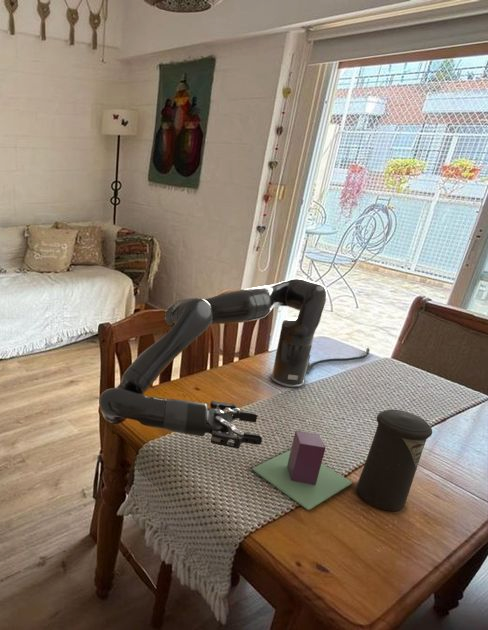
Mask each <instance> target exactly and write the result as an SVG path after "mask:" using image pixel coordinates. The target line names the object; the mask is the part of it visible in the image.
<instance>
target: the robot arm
mask: <svg viewBox="0 0 488 630" xmlns="http://www.w3.org/2000/svg"><path fill="white" fill-rule="evenodd" d="M327 296H328V292H327V288H326V286H325V285H323V284H320V283H318V282H315V281H311V280H308V279H304V278H298V277H295V278H291V279H288V280H285V281H281V282H277V283H274V284H270V285H263V286H257V287H249V288H244V289H238V290H234V291H230V292H229V291H228V292H225V293H222V294H219V295H215V296H212V297H207V298H199V297H192V298H191V297H190V298H184V299H178V300H176V301H174V302H173V303H171V304H170V305H169V306H168V307H167V309H166V311H165V314H164V321H165V323H166V325H167V326H168V327H169V329H170V330H168V332H166V333H165V334H164V335H163V336H162V337H161V338H159V339H158V340H157V341H155V342H154V343H153V344H151V345H150V346H149V347H147V348H146V349H145V350H143V351H142V352H141V353H140V354H139V355H138V356H137V357H136V358H135V359H134V361H133V362H132V363H131V364H130V365H129V366H128V367H127V368H126V370H125V371H124V373H123V374H122V375H121V379H120V383H119V384H118V385H117V387H111V388H107V389H105V390H104V391H103V392H101V394H100V396H99V400H98V404H99V408H100V412H101V415H102V417H103V419H104V420H105V421H106V422H108V423H109V424H112V425H118V424H122V423H124V422H126V420H133V421H137V422H139V424H141V425H142V426H144V427H150V428H154V429H155V428H156V429H161V430H162V429H163V430H166V431H169V432H172V433H178V434H185V435H191V436H197V437H204V436H205V434H210V443H211V444H212V445H218V446H223V447H226V448H232V449H241V448H240V447H241V445H242V444H249V445H256V446H257V445H258V446H261V444H262V441H263V436H262V434H260V433H254V432H247V431H241V430H239V429H237V428H236V426H235V425H234V424H232V422H234V421H237V420H239V421H242V422H247V423H253V424H255V423H257V419H258V414H257V413H256V412H253V411H246V410H241V409H240V408H238V407H237V404H235V403H229V402H221V401H210V403H209V408H208V404H207V403H205V402H197V401H190V400H185V399H184V400H183V399H177V398H170V399H169V398H162V397H156V396H148V395H144V394H145V393H146V392H147V391H149V388H150V387H151V386H152V385H153V384H154V383H155V382H156V380H157V379H158V378H159V376H160V375H161V374H162V373H163V371H165V369H166V368H167V367H168V366H169V365H170V364H171V363H172V362H173V361H174V360H175V359H176V358H177V357H178V356H179V355H180V354H181V353H182V352H183V351H184V350H185V349H186V348H187V347H189V345H190V344H192V343H193V342H194V341H195V340H197V339H198V338H199V337H200V336H201V335H202V334H203V333H204V332H206V331H207V329H208V328H209V327H210V326H211V325H223V324H224V325H225V324H226V325H227V324H228V325H229V324H241V323H248V322H254V321H258V320H261V319H263V318H265V317H267V316H268V315H269V314H270V313H271V311H272V310H273V309H274V308H278V307H287V308H291V309H294V310H297V311H299V312H298V315H297V317H288V318H285V319H283V321H282V323H281V327H280V332H279V333H280V334H279V338H278V343H277V347H276V352H275V358H274V363H273V368H272V373H271V375H270V378H271V380H272V381H273V382H274V383H276V384H278V385H281V386H283V387H287V388H301V387H302V386H303V385H304V383H305V382H306V381H305V380H306V377H307V374H309V373H310V371H311V369H312V368H313V367H314V366H316V365H318V364H321V363H328V362H345V361H353V360H354V361H355V360H361V359H365V358H367V357H368V356H369V354H370V351H371V350H370V348H369V347H366V349H365V353H364V354H363V355H360V356H353V357H338V358H337V357H336V358H326V359H319V360H316V361H313V362H310V359H311V351H312V347H313V342H314V338H315V335H316V331H317V329H318V327H319V325H320V322H321V319H322V315H323V312H324V309H325V305H326V302H327Z"/></svg>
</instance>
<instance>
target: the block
mask: <svg viewBox="0 0 488 630" xmlns="http://www.w3.org/2000/svg"><path fill="white" fill-rule="evenodd" d="M290 450H291V452H290V456H289V460H288V465H287V467H288V471H289V474H290V478H291V481H296V482H302V483H307V484H312V485H316V482H317V478H318V474H319V471H320V467H321V463H322V464H323V459H324V455H325V452H326V445H325V443H324V441H323V438H322V436H321V434H320V433H314V432H308V431H301V430H295V431H294V436H293V439H292V444H291V448H290Z"/></svg>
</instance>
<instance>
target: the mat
mask: <svg viewBox="0 0 488 630" xmlns="http://www.w3.org/2000/svg"><path fill="white" fill-rule="evenodd" d="M290 452H291V449H289V450H287V451H285V452H283V453H281V454H279V455H276V456H274V457H272V458H270V459H268V460H266V461H264V462H262V463H260V464H258V465H256V466H253V467H252V468H251V471H252V472H254V473H255V474H257V475H258V476H260V478H261V479H264V480H265V481H266V482H268V483H269V484H271V485H272V486H273V487H275V488H276V489H277V490H279V491H280V492H281V493H283V494H284V495H286V496H287V497H289V498H290V499H291V500H292V501H294V502H296V503H297V504H298V505H300V506H301V507H302V508H304V509H305V510H306V511H310V510H311V509H313V508H315V507H317V506H318V505H320V504H321V503H323V502H325V501H327V500H328V499H330V498H332V497H333V496H335V495H337V494H338V493H340V492H342V491H343V490H345V489H347V488H348V487H350V486H351V485H353V482H352V481H351V480H349V479H348V478H346V477H345V476H343V475H341V474H340V473H338V472H336V471H335V470H333V469H332V468H329V467H328V466H326V465H325V464H323V462H322V463H321V467H320V471H319V474H318V478H317V482H316V485H312V484H307V483H302V482H296V481H291V478H290V474H289V471H288V467H287V465H288V460H289V456H290Z"/></svg>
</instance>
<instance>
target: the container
mask: <svg viewBox="0 0 488 630" xmlns="http://www.w3.org/2000/svg"><path fill="white" fill-rule="evenodd" d="M376 421H377V426H376V430H375V433H374V436H373V439H372V441H371V444H370V448H369V451H368V453H367V456H366V459H365V462H364V464H363V468H362V471H361V473H360V476H359V479H358V482H357V484H356V492H357V494H358V495H359V496H360V497H361V499H362V500H364V501H365V502H366V503H368V504H370V505H371V506H373V507H376V508H377V509H381V510H384V511H389V512H399V511H401V510H403V509H404V507H405V505H406V503H407V499H408V496H409V493H410V490H411V487H412V485H413V483H414V482H413V481H414V478H415V475H416V472H417V469H418V467H419V463H420V460H421V458H422V454H423V451H424V448H425V445H426V442H427V439H429V438H430V437H431V436H432V434H433V429H432V426H430V424H429V423H428V422H427V421H426V420H425V419H423V418H422V417H420V416H418V415H416V414H413V413H411V412H409V411H405V410H400V409H386V410H382V411H380V412H378V413H377V415H376Z"/></svg>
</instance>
